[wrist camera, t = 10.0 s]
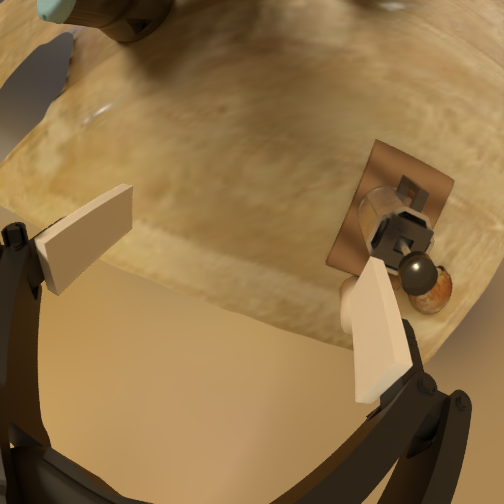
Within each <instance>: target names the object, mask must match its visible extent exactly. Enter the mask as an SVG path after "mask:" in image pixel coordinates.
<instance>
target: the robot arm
mask: <svg viewBox="0 0 504 504" xmlns="http://www.w3.org/2000/svg"><path fill="white" fill-rule="evenodd" d="M171 3H172V0H37V13H38V16H39V17H40V18H41V19H42V20H44V21H48V22H53V23H56V24H72V25H80V26H87V27H94V28H98V29H100V30H101V31H102V32H103V33H105V34H106V35H107V36H108V37H110V38H111V39H113V40H117V41H121V42H133V41H137V40H139V39H142V38H144V37H145V36H147V35H149V34H150V33H151V32H153V31H154V30H155V29H156V28H157V27H158V26H159V25H160V24H161V23H162V21H163V20H164V19H165V17H166V16H167V14H168V12H169V10H170V7H171ZM132 193H133V186H131V185H127V184H123V183H122V184H120V185H118V186H116V187H115V188H113V189H111V190H109V191H107V192H106V193H104V194H102V195H100V196H99V197H97V198H95V199H94V200H92V201H90V202H89V203H87V204H85V205H84V206H82V207H80V208H79V209H77V210H76V211H74V212H72V213H71V214H69V215H68V216H65V217H63V218H61V219H59V220H58V221H56V222H54V224H52V225H50V226H49V227H48V228H46V229H44V230H43V231H41V232H40V233H39V234H37V235H36V236H34V237H33V238H32V239H30V240H28V236H27V231H26V226H25V224H24V223H22V222H15V223H11V224H9V225H8V226H6V227H5V228H4V229H3V230H2V231H1V233H2V237H3V241H4V245H1V242H0V504H153V503H148V502H143V501H139V500H134V499H130V498H126V497H123V496H122V495H120V494H119V493H118V492H116V491H115V490H114V489H113V488H112V487H110V486H109V485H108V484H107V483H105V482H104V481H103V480H102V479H101V478H100V477H98V476H96V475H95V474H93V473H91V472H90V471H88V470H86V469H85V468H83V467H81V466H80V465H78V464H77V463H75V462H73V461H72V460H70V459H68V458H67V457H65V456H63V455H62V454H60V453H59V452H57V451H56V450H54V449H52V448H51V444H50V439H49V436H48V434H47V431H46V430H45V428H44V426H43V423H42V419H41V411H40V401H39V388H38V363H37V362H38V360H37V359H38V357H37V356H38V351H37V350H38V327H39V313H40V303H41V294H42V286H41V283H42V282H43V281H44V280H45V282H46V285H47V288H48V290H49V291H51V292H53V293H54V294H56V295H58V296H59V294H61V293H62V291H64V290H65V289H66V288H67V287H68V286H69V285H70V284H71V283H72V282H73V281H74V280H75V279H76V278H77V277H78V276H79V275H80V274H81V273H82V272H83V271H85V270H86V269H87V268H88V267H89V266H90V265H91V264H92V263H93V262H94V261H95V260H96V259H98V258H99V257H100V256H101V255H102V254H103V253H104V252H106V251H107V250H108V249H109V248H110V247H111V246H112V245H114V244H115V243H116V242H117V241H118V240H119V239H121V238H122V237H123V236H124V235H125V234H127V233H128V232H129V231H130V230H131V229H132ZM349 300H350V310H351V321H352V333H353V347H354V362H355V363H354V365H355V398H356V399H355V401H356V402H361V403H369V404H372V403H373V402H374V401H376V400H377V399H378V398H379V397H380V406H379V407H377V408H376V409H375V410H374V411H372V412H371V413H370V414H369V415H368V416H366V417H367V419H366V421H365V422H364V423H363V424H362V425H361V426H360V427H359V428H358V429H357V430H356V431H355V432H354V433H353V434H352V435H351V436H350V437H349V438H348V439H347V440H346V441H345V442H344V443H343V444H342V445H341V446H340V447H339V448H338V449H337V450H336V451H335V452H334V453H333V454H332V455H331V456H330V457H328V458H327V459H326V460H325V461H324V462H323V463H322V464H321V465H319V466H318V467H317V468H316V469H315V470H314V471H313V472H311V473H310V474H309V475H308V476H306V477H305V478H304V479H303V480H301V481H300V482H299V483H297V484H296V485H295V486H294V487H292V488H291V489H290V490H289V491H287V492H285V493H284V494H283V495H281V496H280V497H279V498H277V499H276V500H274V501H273V502H271V503H270V504H361V503H362V502H363V501H364V500H365V499H366V498H367V497H368V496H369V494H370V493H371V492H372V491H373V490H374V488H375V487H376V486H377V485H378V484H379V482H381V480H382V479H383V478H384V477H385V475H386V474H387V473H388V472H389V470H390V469H391V468H392V466H393V465H394V464H395V462H396V461H397V459H398V458H399V459H398V462H397V464H396V466H395V469H394V471H393V473H392V475H391V478H390V479H389V481H388V484H387V486H386V488H385V490H384V491H383V493H382V496H381V497H380V499H379V501H378V503H377V504H451V501H452V498H453V495H454V492H455V489H456V486H457V482H458V479H459V475H460V471H461V467H462V463H463V459H464V454H465V450H466V445H467V439H468V433H469V427H470V419H471V412H472V404H471V401H470V398H469V397H468V395H467V394H466V393H465V392H464V391H462V390H455V391H454V392H453V393H452V394H451V395H449V396H448V395H446V394H444V393H442V392H440V391H438V390H437V385H436V382H435V380H434V379H433V378H432V377H431V376H430V375H429V374H427V373H425V372H424V370H423V365H422V361H421V357H420V353H419V349H418V347H417V346H418V345H417V341H416V340H415V339H416V337H415V334H414V330H413V328H412V327H411V325H410V323H409V322H408V320H405V319H402V318H401V316H400V312H399V308H398V305H397V302H396V298H395V295H394V292H393V289H392V285H391V282H390V279H389V276H388V273H387V270H386V267H385V265H384V262H383V260H380V259H377V258H374V257H372V256H370V258H369V260H368V262H367V264H366V266H365V268H364V270H363V272H362V274H361V275H360V277H359V279H358V281H357V283H356V285H355V287H354V288H353V290H352V292H351V294H350V296H349ZM10 443H12V444H13V446H14V448H10Z"/></svg>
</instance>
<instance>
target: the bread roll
mask: <svg viewBox="0 0 504 504" xmlns="http://www.w3.org/2000/svg"><path fill="white" fill-rule="evenodd" d="M436 268H437V271H438V279H437V282H436V284H435V286H434V287H433V288H432V289H431V290H430V291H429V292H427V293H426V294H423V295H420V296H412V295H409V294H408V295H409V299H410V301H411V302H412V304H413V306H414V307H415V308H417V309H418V310H419V311H420V312H422V313H424V314H434V313H437V312H439V311H440V310H441V308H442V307H444V306H445V305H446V304H447V302H448V301H449V299H450V296H451V293H452V281H451V277H450V275H449V274H448V273H447V271H446V270H445V269H444V267H443V266H438V267H436Z"/></svg>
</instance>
